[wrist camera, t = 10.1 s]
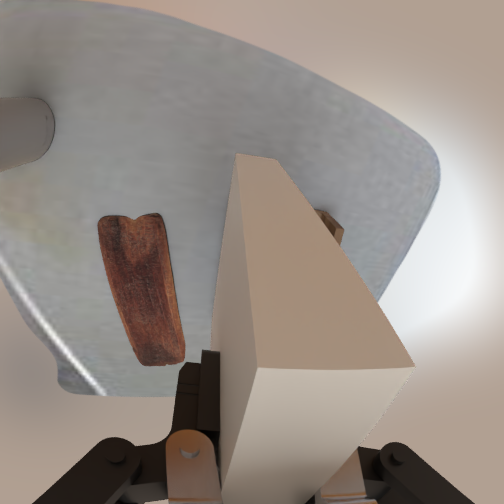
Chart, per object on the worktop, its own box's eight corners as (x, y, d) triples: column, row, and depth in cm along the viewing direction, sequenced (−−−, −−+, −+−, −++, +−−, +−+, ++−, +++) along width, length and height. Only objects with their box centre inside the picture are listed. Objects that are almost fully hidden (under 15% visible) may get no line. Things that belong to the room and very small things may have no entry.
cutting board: (212, 318, 23) (205, 540, 9) (235, 153, 18) (257, 367, 4) (244, 322, 24) (262, 540, 9) (276, 159, 18) (416, 367, 4)
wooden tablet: (189, 369, 50) (132, 373, 48) (189, 360, 52) (133, 365, 50) (164, 212, 39) (91, 221, 38) (165, 208, 41) (95, 216, 40)
